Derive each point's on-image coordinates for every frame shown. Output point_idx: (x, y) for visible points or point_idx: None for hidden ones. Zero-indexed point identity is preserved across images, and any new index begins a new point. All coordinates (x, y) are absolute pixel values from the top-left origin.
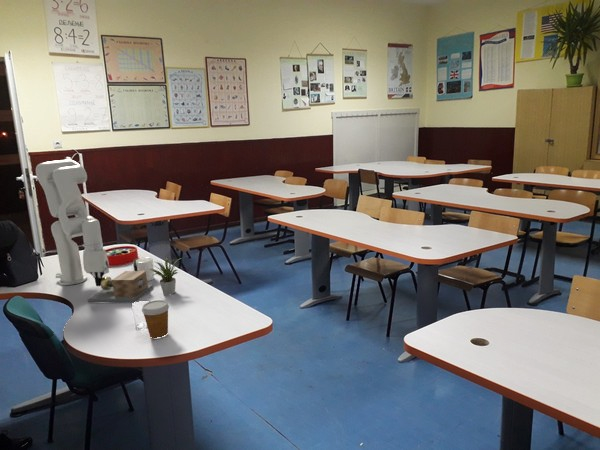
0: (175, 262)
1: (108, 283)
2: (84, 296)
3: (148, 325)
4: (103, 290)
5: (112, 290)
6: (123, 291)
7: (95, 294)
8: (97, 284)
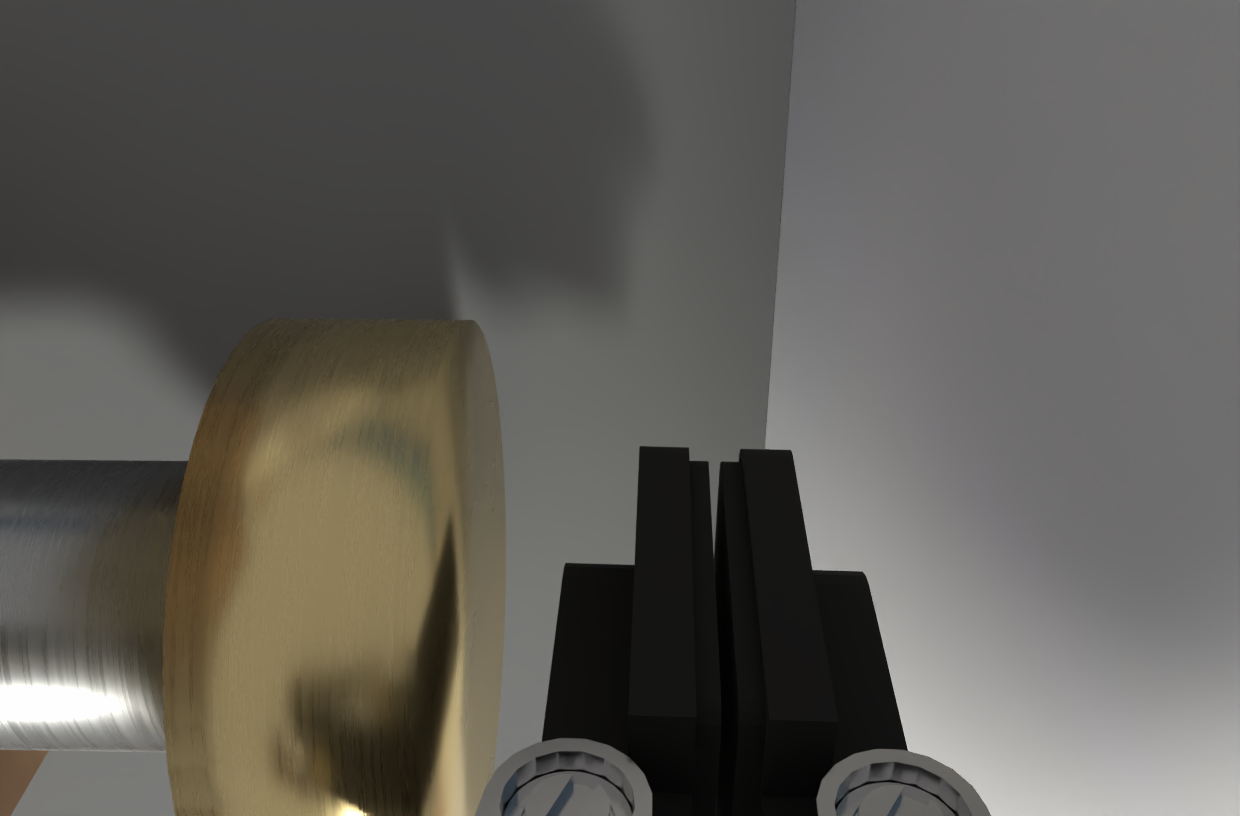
0: None
1: (161, 528)
2: (1236, 237)
3: None
4: None
5: None
6: None
7: (765, 175)
8: (725, 493)
